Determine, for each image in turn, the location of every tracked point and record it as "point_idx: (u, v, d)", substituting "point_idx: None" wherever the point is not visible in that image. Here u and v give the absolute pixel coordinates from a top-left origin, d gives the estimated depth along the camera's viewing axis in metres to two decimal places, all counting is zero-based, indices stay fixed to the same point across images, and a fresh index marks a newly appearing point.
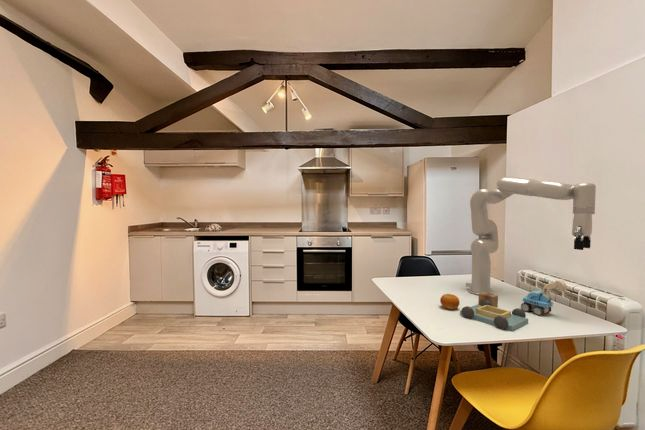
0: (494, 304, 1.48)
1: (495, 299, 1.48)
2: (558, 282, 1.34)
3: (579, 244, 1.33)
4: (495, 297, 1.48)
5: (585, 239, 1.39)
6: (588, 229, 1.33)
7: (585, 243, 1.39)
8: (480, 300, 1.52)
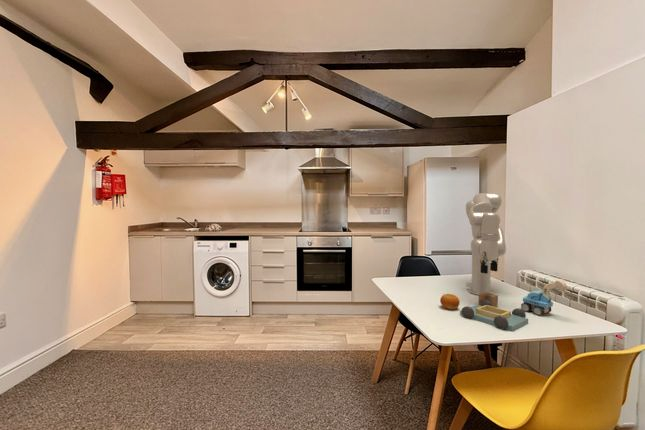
0: (494, 304, 1.48)
1: (495, 299, 1.48)
2: (558, 282, 1.34)
3: (484, 268, 1.47)
4: (495, 297, 1.48)
5: (493, 263, 1.53)
6: (492, 255, 1.47)
7: (493, 266, 1.53)
8: (480, 300, 1.52)
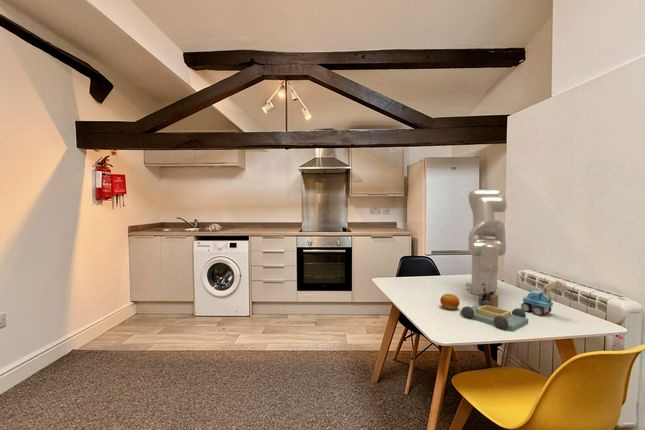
0: (494, 304, 1.48)
1: (495, 298, 1.48)
2: (558, 282, 1.34)
3: None
4: (496, 296, 1.48)
5: None
6: (491, 286, 1.48)
7: None
8: (480, 300, 1.52)
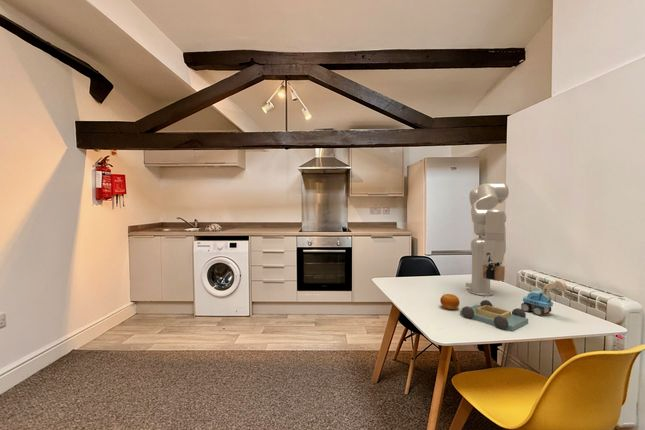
0: (500, 276, 1.32)
1: (502, 270, 1.33)
2: (558, 282, 1.34)
3: (490, 273, 1.33)
4: (502, 267, 1.33)
5: None
6: (497, 256, 1.32)
7: None
8: (485, 272, 1.36)
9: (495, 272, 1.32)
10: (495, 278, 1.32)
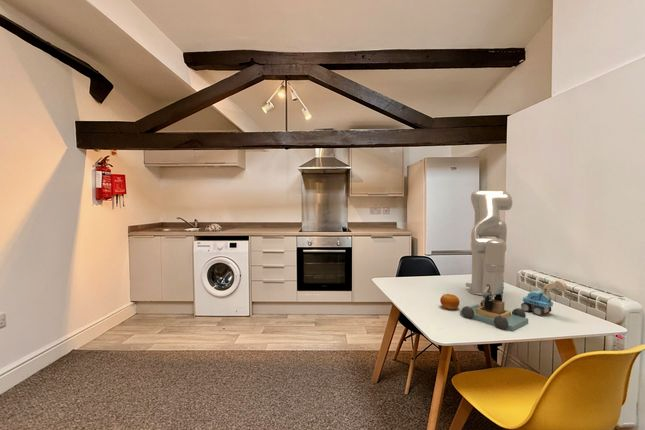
0: (500, 312, 1.30)
1: (502, 306, 1.31)
2: (558, 282, 1.34)
3: (488, 304, 1.30)
4: (502, 304, 1.31)
5: (497, 297, 1.36)
6: (497, 288, 1.31)
7: None
8: None
9: (495, 308, 1.31)
10: None
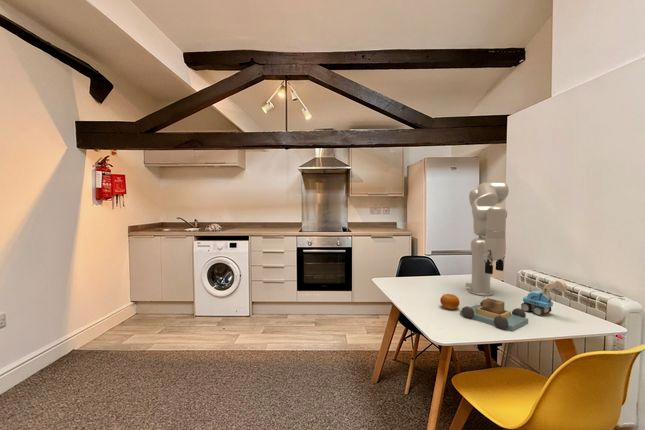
0: (500, 312, 1.30)
1: (502, 306, 1.31)
2: (558, 282, 1.34)
3: (489, 268, 1.33)
4: (502, 304, 1.31)
5: (499, 262, 1.39)
6: (498, 253, 1.33)
7: (499, 266, 1.39)
8: (484, 307, 1.34)
9: (495, 308, 1.31)
10: None
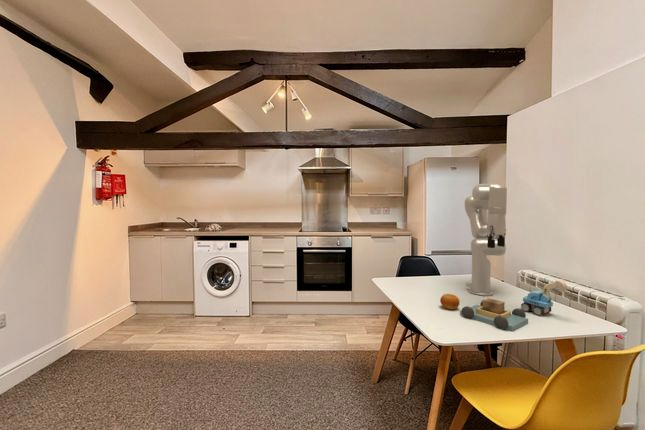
0: (500, 312, 1.30)
1: (502, 306, 1.31)
2: (558, 282, 1.34)
3: (491, 243, 1.42)
4: (502, 304, 1.31)
5: (500, 238, 1.48)
6: (500, 229, 1.43)
7: (500, 242, 1.48)
8: (484, 307, 1.34)
9: (495, 308, 1.31)
10: None
